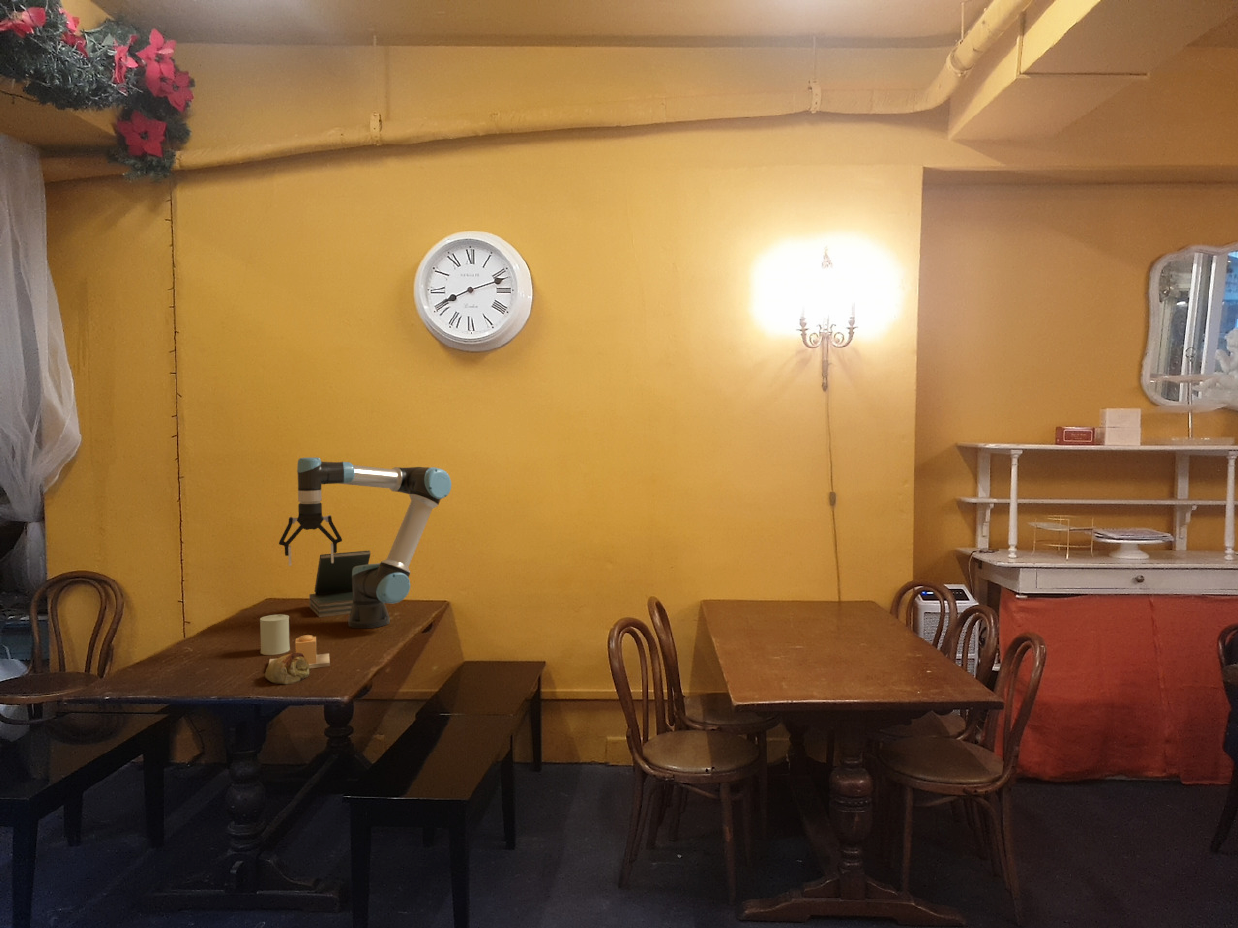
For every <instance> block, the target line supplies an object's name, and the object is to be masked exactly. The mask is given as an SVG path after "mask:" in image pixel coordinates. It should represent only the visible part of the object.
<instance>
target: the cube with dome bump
mask: <svg viewBox="0 0 1238 928" xmlns="http://www.w3.org/2000/svg"><path fill="white" fill-rule="evenodd" d="M294 643H295V644H294V645H295V653H302V654H303V655H304V656H305V658H306V659H307V661H308V663H309V664H313V663H316V659H317V656H316V655H317V636H313V635H312V634H311V635H310V634H306V635H300V636H299V637H297V638H295V642H294Z"/></svg>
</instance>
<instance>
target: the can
mask: <svg viewBox="0 0 1238 928" xmlns="http://www.w3.org/2000/svg"><path fill="white" fill-rule="evenodd" d="M289 620H290V616H289V615H288V614H270V615H266V616H262V617H260V619H259V625H260V626H259V627H260V628H259V629H260V630H259V631H260V654H262V655H265V656H274V655H275V656H276V655H281V654H285V653H286V654H287V653H288V652H289V651H291V647H290V646H291V645H290V621H289Z"/></svg>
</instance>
